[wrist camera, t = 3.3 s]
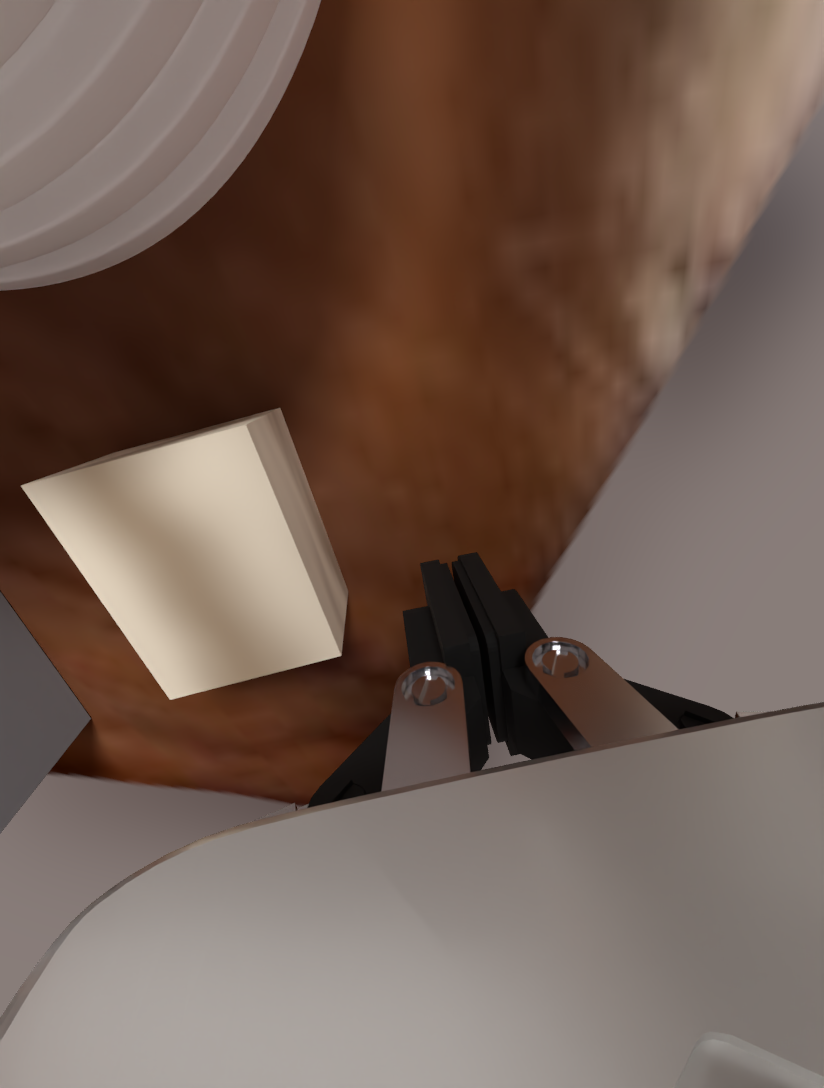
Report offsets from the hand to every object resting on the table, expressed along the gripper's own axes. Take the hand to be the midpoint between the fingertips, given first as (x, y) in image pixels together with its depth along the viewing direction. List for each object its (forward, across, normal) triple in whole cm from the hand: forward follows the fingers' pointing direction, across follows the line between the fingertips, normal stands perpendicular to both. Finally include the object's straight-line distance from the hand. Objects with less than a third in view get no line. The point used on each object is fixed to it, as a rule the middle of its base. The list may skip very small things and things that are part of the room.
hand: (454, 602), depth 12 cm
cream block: (+8, +8, -1) cm, 11 cm away
